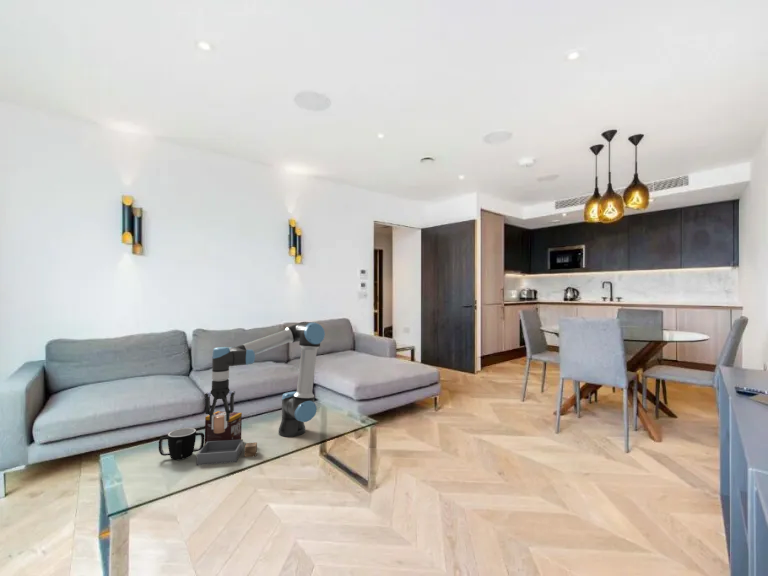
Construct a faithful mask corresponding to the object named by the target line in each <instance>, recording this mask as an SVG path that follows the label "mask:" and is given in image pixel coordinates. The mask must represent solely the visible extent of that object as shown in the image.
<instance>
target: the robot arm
mask: <svg viewBox="0 0 768 576" xmlns="http://www.w3.org/2000/svg"><path fill="white" fill-rule="evenodd" d="M325 336H326V333H325V328H324V327H323V326H322V325H321V324H320V323H318V322H311V321H301V322H298V323H295V324H293V325H291V326H287V327H285V329H284V330H281V331H279V332H275V333H272V334H269V335H267V336H264V337H260V338H258V339H255V340H253V341H252V340H251V341H248V342H246V343H243V344H240V345H238V346H230V347H228V346H220V347H219V346H218V347H214V348H213V350H212V358H211V360H212V361H211V362H212V363H211V365H212V367H211V368H212V369H211V380H212V381H211V390H210V391H209V392H205V393H204V398H205V415H210V422H212V429H214V417H215V414H213V413H215V409H216V406H217V402H218V400H222V402H223V406H224V412H226V414H225V415H224V429H226V428H227V421H229V419H230V413H232V412H234V411H235V406H234V405H235V395H236V391H232V390H230V388H229V386H230V384H229V383H230V380H229V378H230V367H235V366H236V367H237V366H245V365H246V366H248V365H252V364H254V363H255V359H256V355H258V354H261V353H264V352H266V351H270V350H271V349H274V348H278V347H280V346H283V345H285V344H289V343H290V344H294V343H296V342H299V344H298V345H299V347H300V348H301V350H300V360H299V366H298V377H297V387H296V391H288V392H285V393H283V394H282V397H281V420H280V424H279V426H278V427H279V428H278V435H279V436H281V437H287V438H289V437H297V436H301V435H303V434H305V433H306V425H305V423H307V422H310V421H311V420H312V419H313V418H314V417H315V416H316V414H317V410H318V408H317V405H316V403H315V395H314V393H313V389H314V388H313V387H314V378H315V371H316V362H317V361H316V360H317V352H318V349H319V348H320V347H321V343H322V342H323V341H324V339H325ZM211 395H212V397H213V400H212V403H211ZM228 395H229V396H230V398H229V403H228V397H227V396H228ZM211 404H212V405H211ZM210 407H211V408H210Z"/></svg>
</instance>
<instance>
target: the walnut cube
mask: <svg viewBox="0 0 768 576" xmlns="http://www.w3.org/2000/svg"><path fill="white" fill-rule="evenodd" d="M256 452H257V453H258V442H246V443H245V445H244V458H252V457H253V456H254V457H256V456H257V453H256ZM255 455H256V456H255Z"/></svg>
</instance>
